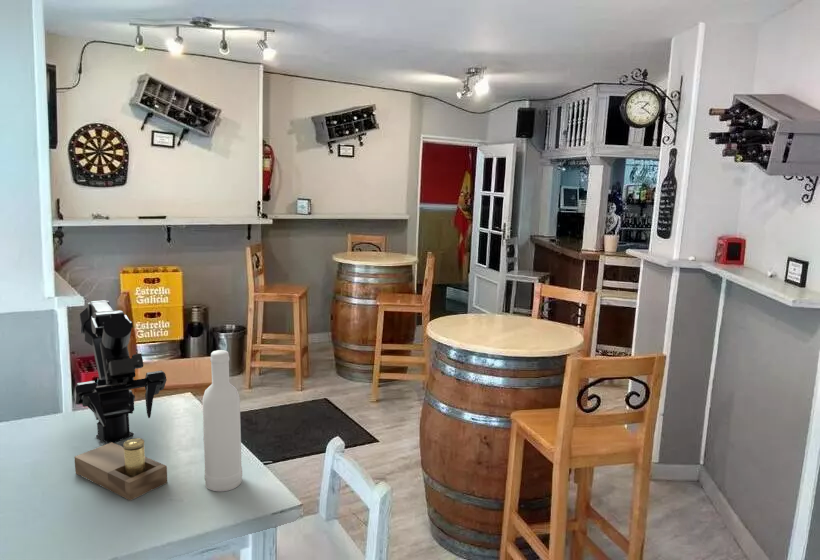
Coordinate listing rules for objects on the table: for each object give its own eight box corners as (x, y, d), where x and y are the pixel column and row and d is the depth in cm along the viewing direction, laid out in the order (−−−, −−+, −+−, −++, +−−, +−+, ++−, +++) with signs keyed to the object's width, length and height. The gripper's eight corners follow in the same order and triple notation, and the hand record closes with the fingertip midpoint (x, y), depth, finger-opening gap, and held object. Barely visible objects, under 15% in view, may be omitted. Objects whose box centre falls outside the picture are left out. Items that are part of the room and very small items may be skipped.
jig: (112, 457, 148) (111, 442, 148) (167, 482, 138) (166, 465, 137) (75, 473, 141) (74, 456, 140) (130, 500, 131) (129, 482, 130)
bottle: (208, 495, 133) (203, 359, 128) (201, 478, 140) (196, 349, 135) (246, 487, 137) (243, 355, 131) (238, 471, 144) (234, 345, 138)
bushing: (135, 479, 139) (133, 436, 137) (150, 482, 138) (148, 440, 136) (121, 487, 135) (118, 444, 134) (136, 491, 134) (134, 447, 132)
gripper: (72, 348, 135) (81, 415, 129) (162, 337, 146) (176, 398, 139) (70, 371, 144) (79, 435, 137) (156, 359, 154) (169, 418, 147)
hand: (127, 421), depth 140 cm, fingers open, 9 cm apart
